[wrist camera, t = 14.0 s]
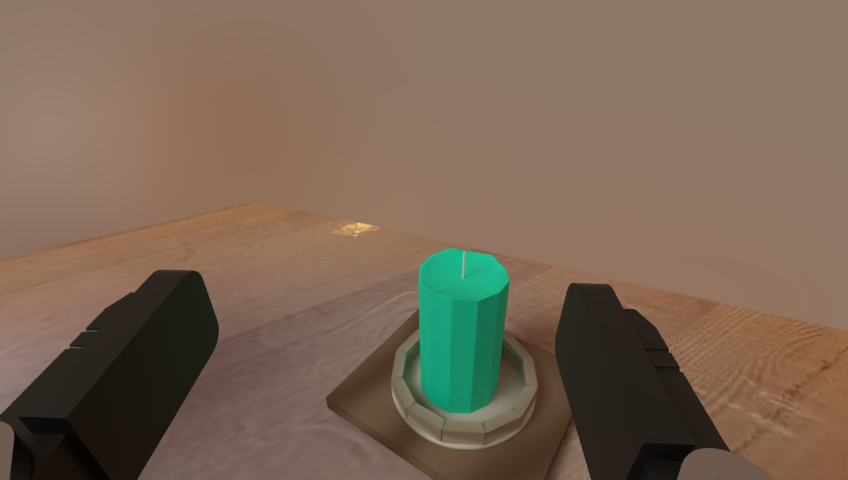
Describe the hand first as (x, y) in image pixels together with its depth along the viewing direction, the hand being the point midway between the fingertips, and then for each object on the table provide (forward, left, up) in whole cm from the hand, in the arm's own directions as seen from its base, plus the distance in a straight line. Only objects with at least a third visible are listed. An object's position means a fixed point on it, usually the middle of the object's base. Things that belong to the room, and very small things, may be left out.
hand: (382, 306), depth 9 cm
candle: (-6, +14, -21) cm, 26 cm away
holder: (-6, +15, -22) cm, 27 cm away
